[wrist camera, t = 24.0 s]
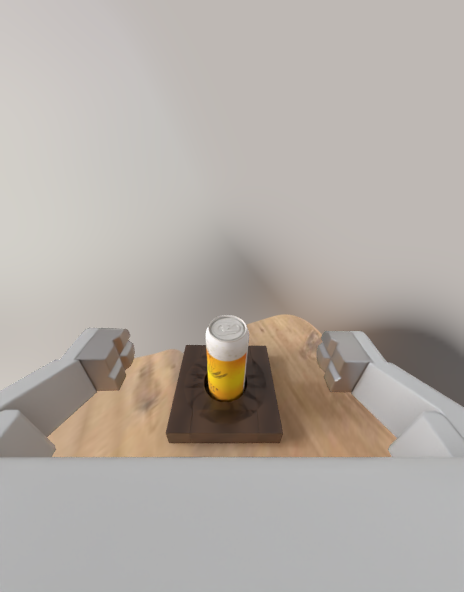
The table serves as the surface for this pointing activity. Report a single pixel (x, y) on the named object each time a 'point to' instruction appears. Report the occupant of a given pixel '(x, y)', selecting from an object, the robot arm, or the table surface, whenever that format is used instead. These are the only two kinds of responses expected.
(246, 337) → the beer can
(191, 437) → the holder
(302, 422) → the table surface
